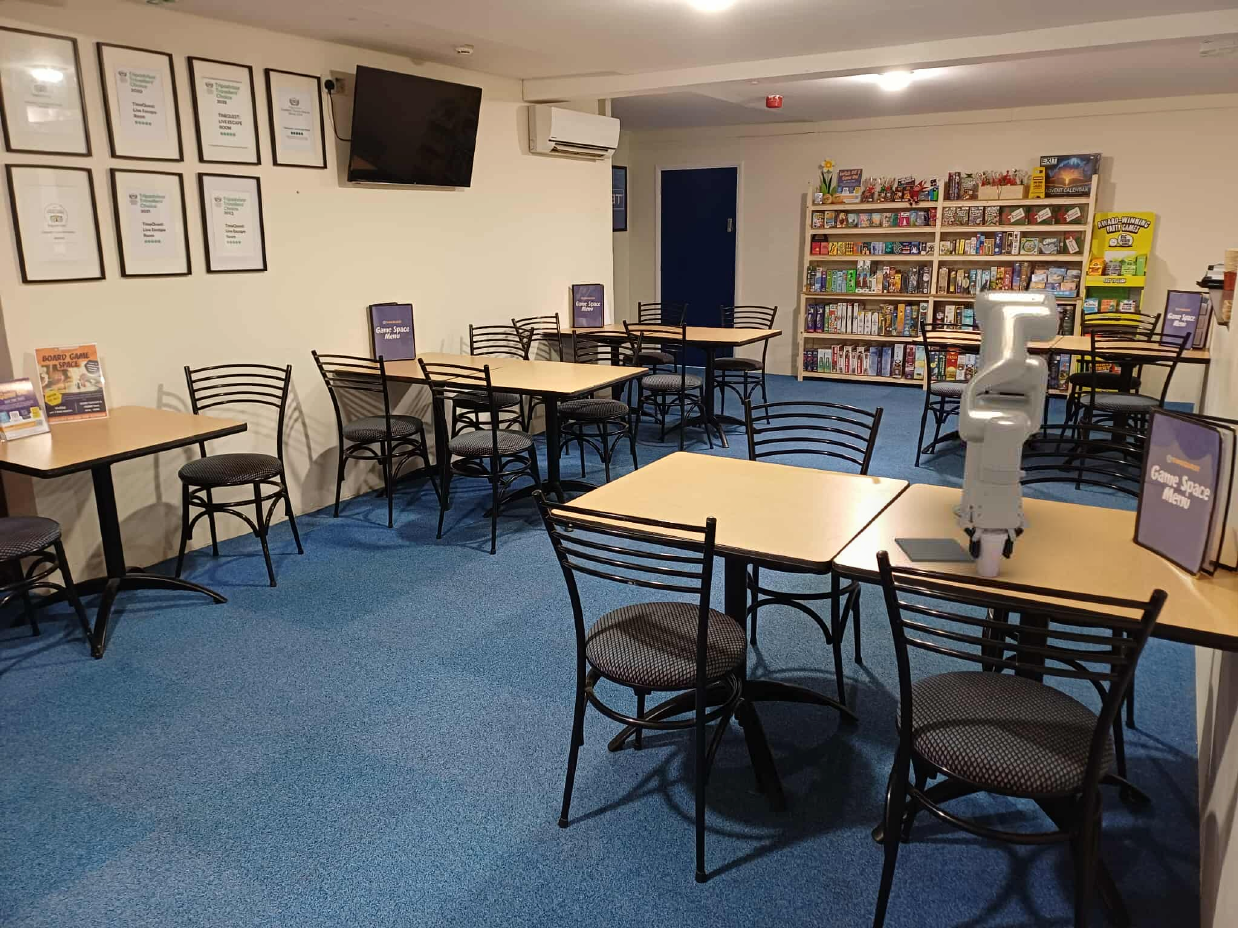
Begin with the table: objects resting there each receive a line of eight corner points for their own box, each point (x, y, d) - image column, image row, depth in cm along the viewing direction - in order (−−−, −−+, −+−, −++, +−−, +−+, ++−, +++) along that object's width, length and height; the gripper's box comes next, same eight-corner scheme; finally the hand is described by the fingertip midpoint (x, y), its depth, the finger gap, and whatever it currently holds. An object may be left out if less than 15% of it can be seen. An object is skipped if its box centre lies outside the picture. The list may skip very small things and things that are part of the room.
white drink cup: (966, 568, 189) (971, 508, 185) (994, 567, 190) (1000, 506, 186) (980, 580, 183) (986, 517, 179) (1009, 578, 183) (1016, 516, 180)
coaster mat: (953, 540, 206) (953, 538, 206) (975, 562, 193) (975, 559, 193) (894, 540, 207) (894, 538, 207) (912, 561, 193) (912, 559, 193)
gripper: (1032, 471, 184) (1022, 550, 189) (951, 470, 184) (943, 550, 189) (1048, 481, 177) (1038, 563, 181) (963, 480, 177) (955, 562, 182)
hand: (989, 555), depth 185 cm, fingers closed on white drink cup, 6 cm apart
